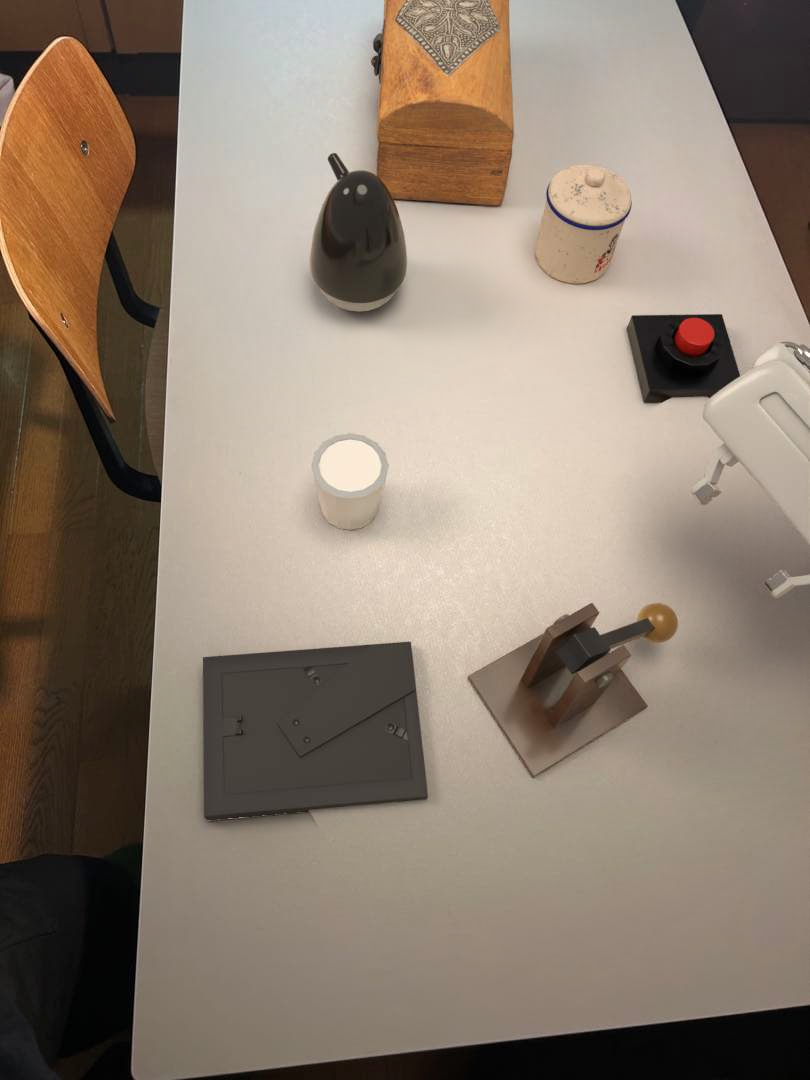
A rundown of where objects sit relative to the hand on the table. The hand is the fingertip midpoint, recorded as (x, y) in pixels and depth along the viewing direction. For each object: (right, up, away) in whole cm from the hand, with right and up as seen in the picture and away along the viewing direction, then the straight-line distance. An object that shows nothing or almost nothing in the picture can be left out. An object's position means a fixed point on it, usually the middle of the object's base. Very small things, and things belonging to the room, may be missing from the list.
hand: (732, 543), depth 75 cm
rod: (-9, -8, +2) cm, 13 cm away
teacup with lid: (-7, +34, +32) cm, 47 cm away
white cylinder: (-32, +4, +15) cm, 35 cm away
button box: (+3, +19, +25) cm, 31 cm away
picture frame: (-34, -16, +4) cm, 38 cm away
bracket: (-13, -13, +7) cm, 20 cm away
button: (+3, +21, +22) cm, 30 cm away
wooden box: (-23, +53, +41) cm, 70 cm away
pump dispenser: (-32, +28, +27) cm, 50 cm away
